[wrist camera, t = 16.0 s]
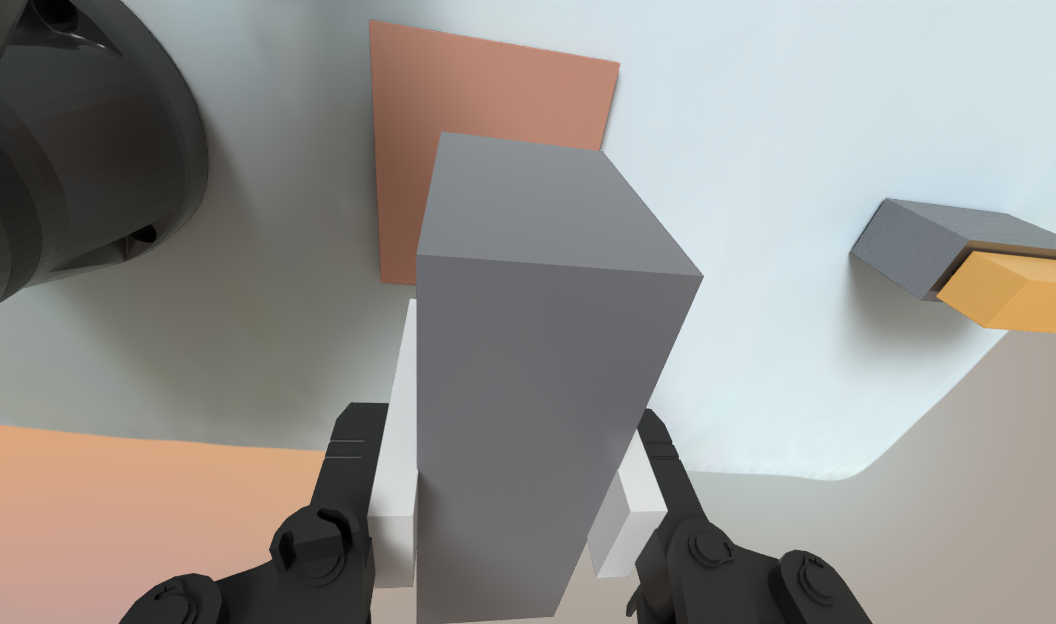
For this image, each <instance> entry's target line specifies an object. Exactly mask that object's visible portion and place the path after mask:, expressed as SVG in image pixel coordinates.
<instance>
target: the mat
mask: <svg viewBox="0 0 1056 624" xmlns="http://www.w3.org/2000/svg"><path fill="white" fill-rule="evenodd" d="M369 28H370V50H371V72H372V94H373V116H374V139H375V161H376V183H377V205H378V227H379V249H380V271H381V283H394V284H408V285H416V254H417V249H418V244H419V239H420V234H421V229H422V224H423V219H424V214H425V209H426V204H427V199H428V194H429V189H430V184H431V180H432V175H433V170H434V165H435V160H436V155H437V150H438V145H439V140H440V135H441V131H443V132H451V133H459V134H467V135H475V136H483V137H491V138H499V139H507V140H515V141H524V142H532V143H540V144H548V145H556V146H564V147H572V148H580V149H588V150H596V151H599V150H600V146H601V141H602V137H603V133H604V129H605V125H606V121H607V117H608V112H609V108H610V104H611V100H612V96H613V92H614V88H615V83H616V79H617V75H618V71H619V67H620V63H618V62H614V61H608V60H602V59H596V58H590V57H585V56H579V55H573V54H567V53H561V52H555V51H550V50H544V49H538V48H532V47H526V46H520V45H515V44H509V43H503V42H497V41H491V40H485V39H480V38H474V37H468V36H462V35H456V34H450V33H445V32H439V31H433V30H427V29H421V28H415V27H410V26H404V25H398V24H392V23H386V22H380V21H375V20H370V21H369Z"/></svg>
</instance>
